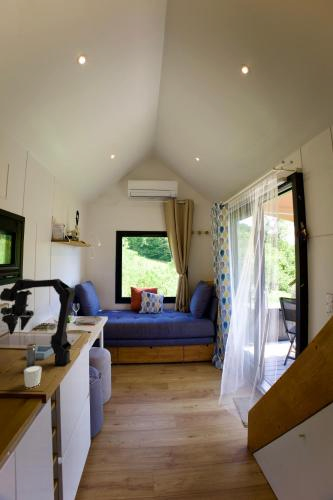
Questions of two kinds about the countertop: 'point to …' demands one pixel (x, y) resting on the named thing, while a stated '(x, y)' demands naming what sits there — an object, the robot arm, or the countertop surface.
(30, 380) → the white cup
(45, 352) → the pin tray
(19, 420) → the countertop surface
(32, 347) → the pin
